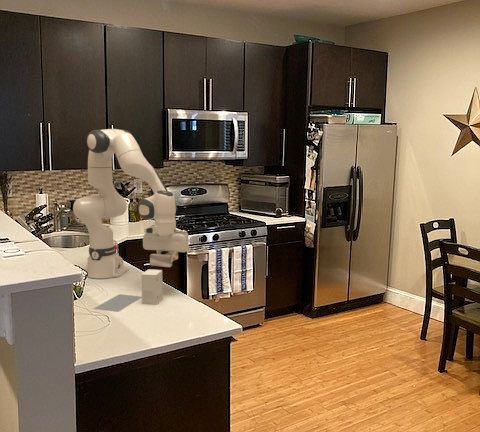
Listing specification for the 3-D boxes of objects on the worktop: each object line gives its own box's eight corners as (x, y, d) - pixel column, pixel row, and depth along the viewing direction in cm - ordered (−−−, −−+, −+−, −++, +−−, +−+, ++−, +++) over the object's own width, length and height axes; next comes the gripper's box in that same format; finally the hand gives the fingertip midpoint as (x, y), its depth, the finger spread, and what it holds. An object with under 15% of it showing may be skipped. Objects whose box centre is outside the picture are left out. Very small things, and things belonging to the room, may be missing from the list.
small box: (148, 299, 219) (148, 268, 217) (163, 300, 217) (162, 269, 215) (141, 305, 211) (140, 273, 209) (156, 306, 210) (156, 274, 208)
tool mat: (119, 295, 223) (119, 294, 223) (142, 298, 220) (142, 296, 220) (93, 310, 204) (93, 308, 204) (118, 313, 201) (118, 311, 201)
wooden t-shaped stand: (166, 257, 234) (165, 247, 234) (184, 259, 232) (184, 249, 231) (150, 265, 220) (149, 255, 219) (169, 267, 217) (169, 256, 216)
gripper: (191, 229, 222) (191, 261, 224) (147, 226, 228) (148, 257, 230) (185, 231, 216) (185, 264, 218) (140, 229, 222) (141, 260, 224)
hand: (166, 260), depth 224 cm, fingers closed on wooden t-shaped stand, 3 cm apart
